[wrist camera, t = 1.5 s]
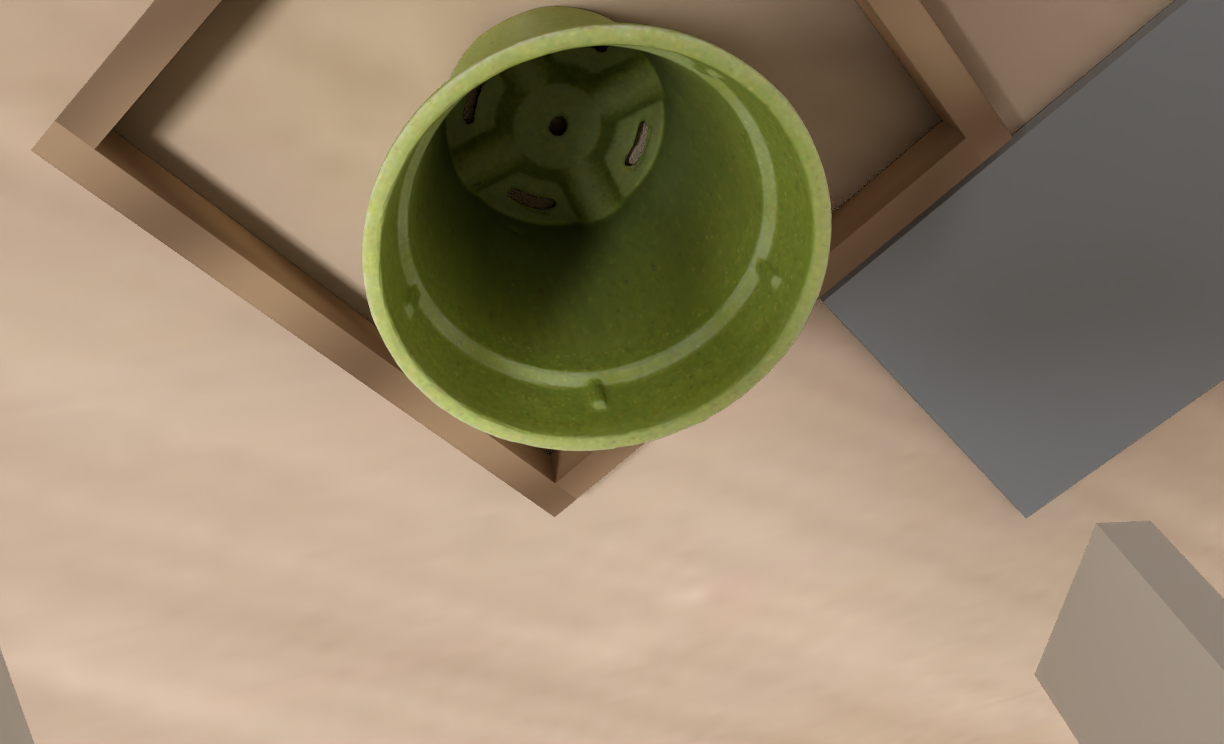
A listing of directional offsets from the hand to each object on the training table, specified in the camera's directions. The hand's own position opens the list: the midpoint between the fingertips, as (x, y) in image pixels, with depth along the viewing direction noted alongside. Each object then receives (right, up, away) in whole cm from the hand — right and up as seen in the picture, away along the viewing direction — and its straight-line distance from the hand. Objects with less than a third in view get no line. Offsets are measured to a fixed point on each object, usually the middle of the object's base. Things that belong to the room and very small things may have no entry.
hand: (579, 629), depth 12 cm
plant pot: (-1, +10, +15) cm, 18 cm away
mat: (+17, +6, +21) cm, 27 cm away
